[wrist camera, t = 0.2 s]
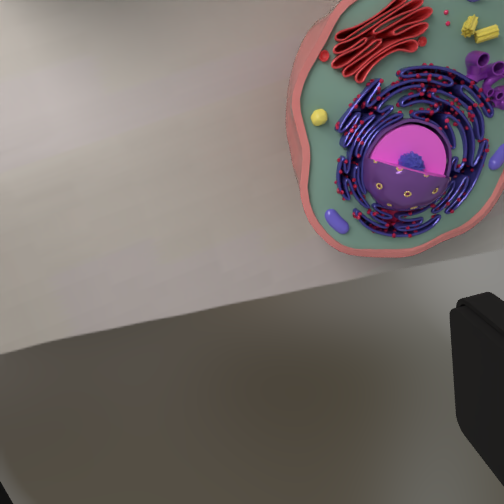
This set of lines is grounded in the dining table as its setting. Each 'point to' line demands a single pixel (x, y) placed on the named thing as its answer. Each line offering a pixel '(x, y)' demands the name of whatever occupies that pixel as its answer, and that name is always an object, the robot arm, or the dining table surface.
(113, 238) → the dining table surface
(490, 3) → the cell model
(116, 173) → the dining table surface
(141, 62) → the dining table surface
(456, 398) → the robot arm
